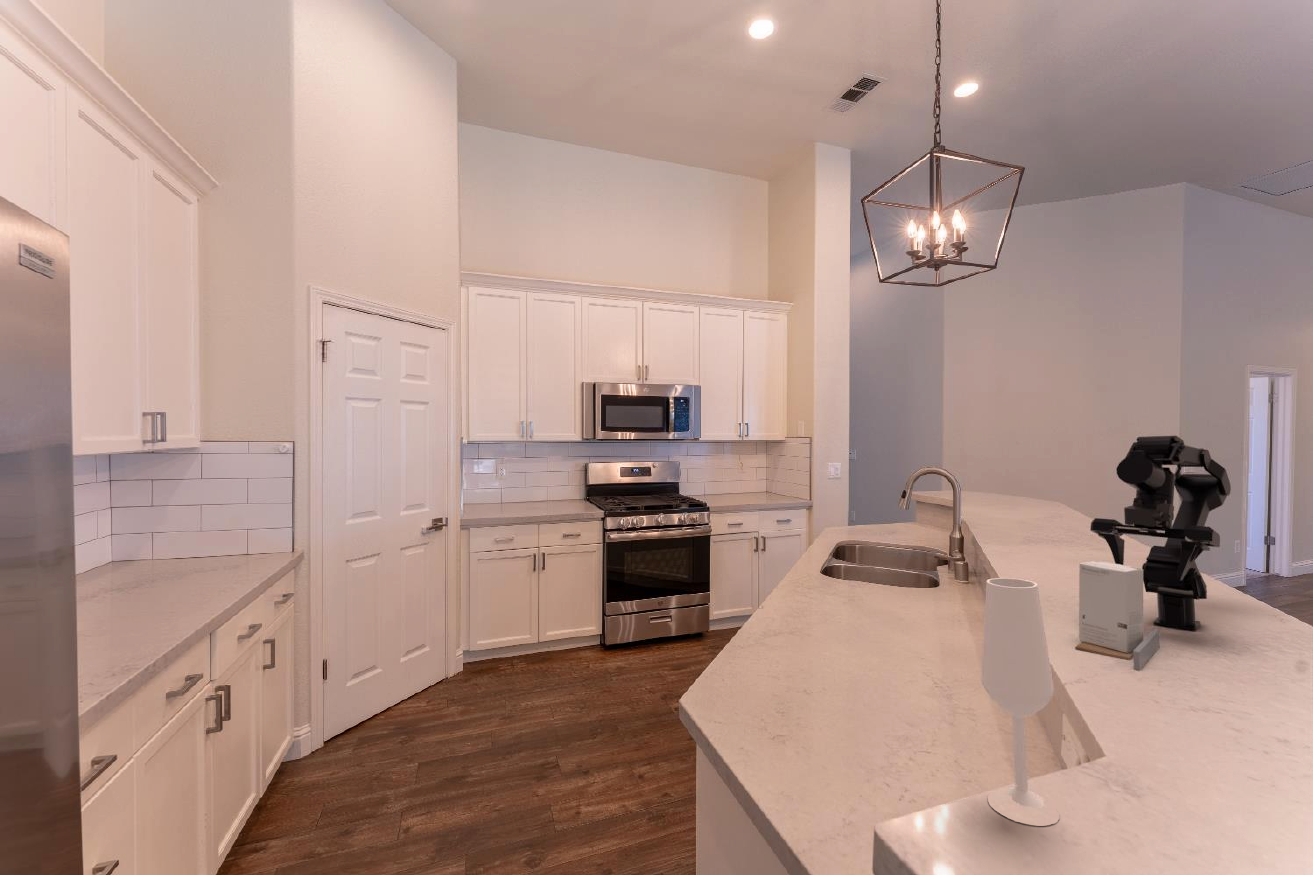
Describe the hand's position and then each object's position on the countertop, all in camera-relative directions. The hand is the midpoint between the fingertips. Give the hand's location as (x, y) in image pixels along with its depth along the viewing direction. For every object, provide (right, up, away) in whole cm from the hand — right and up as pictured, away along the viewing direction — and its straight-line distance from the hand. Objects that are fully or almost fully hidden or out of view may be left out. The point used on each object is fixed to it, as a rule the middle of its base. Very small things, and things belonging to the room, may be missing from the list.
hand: (1148, 575), depth 114 cm
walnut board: (-11, -12, -4) cm, 17 cm away
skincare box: (-11, -12, -5) cm, 17 cm away
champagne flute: (-56, -13, -51) cm, 76 cm away
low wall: (-9, -12, -10) cm, 18 cm away
